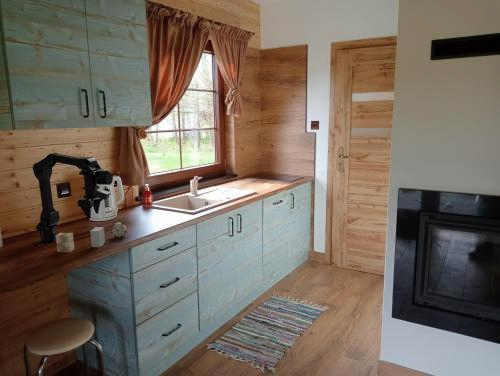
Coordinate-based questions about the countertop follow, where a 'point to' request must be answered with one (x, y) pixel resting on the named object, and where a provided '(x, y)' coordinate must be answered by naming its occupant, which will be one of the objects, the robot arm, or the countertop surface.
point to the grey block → (97, 236)
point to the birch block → (65, 242)
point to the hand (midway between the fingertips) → (93, 216)
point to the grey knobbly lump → (119, 229)
